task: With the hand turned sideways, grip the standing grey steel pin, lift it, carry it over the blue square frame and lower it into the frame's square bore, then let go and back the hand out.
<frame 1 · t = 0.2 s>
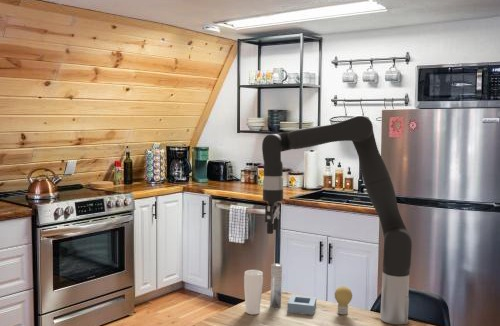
hand: (272, 231, 193), 29 cm above the table, tool pointing down, fingers open, 8 cm apart
steel pin: (275, 306, 197), on the table
drinking glass: (252, 313, 190), on the table
light bulb: (342, 314, 191), on the table
blue square frame: (301, 309, 194), on the table
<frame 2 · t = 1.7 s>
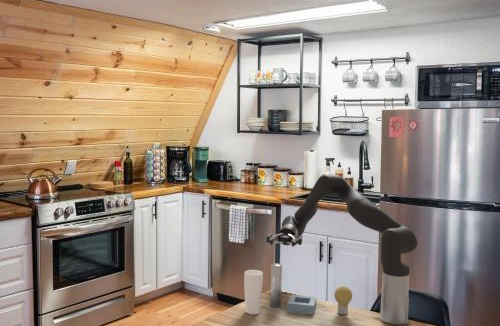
hand: (281, 243, 206), 22 cm above the table, tool horizontal, fingers open, 8 cm apart
nothing on the table moved.
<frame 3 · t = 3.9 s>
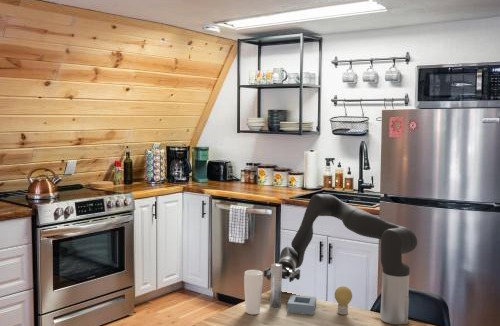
hand: (279, 278, 202), 9 cm above the table, tool horizontal, fingers open, 8 cm apart
nothing on the table moved.
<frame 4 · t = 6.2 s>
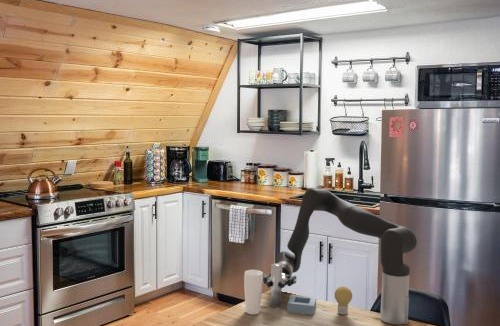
hand: (275, 285, 193), 9 cm above the table, tool horizontal, fingers closed on steel pin, 4 cm apart
steel pin: (275, 306, 197), on the table, touching gripper
everything else where it was.
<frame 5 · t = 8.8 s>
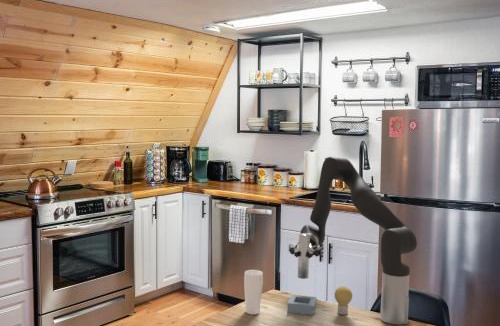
hand: (302, 255, 190), 21 cm above the table, tool horizontal, fingers closed on steel pin, 4 cm apart
steel pin: (302, 277, 194), point 12 cm above the table, touching gripper
everything else where it was.
when the fingers open (10 cm above the table, at t = 11.5 s): steel pin drops 1 cm, resting in blue square frame.
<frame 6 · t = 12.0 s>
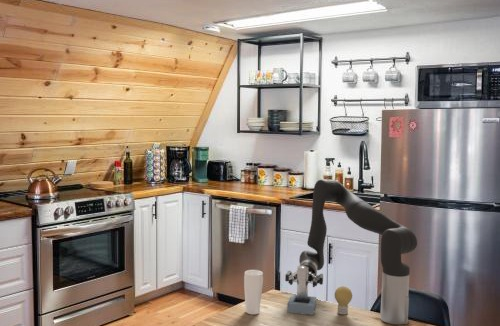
hand: (302, 283, 192), 11 cm above the table, tool horizontal, fingers open, 8 cm apart
steel pin: (301, 309, 195), resting in blue square frame
everything else where it was.
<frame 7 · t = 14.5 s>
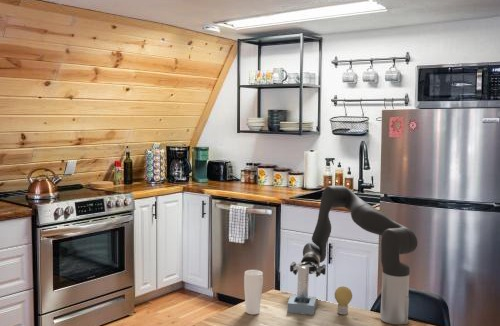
hand: (306, 273, 204), 11 cm above the table, tool horizontal, fingers open, 8 cm apart
nothing on the table moved.
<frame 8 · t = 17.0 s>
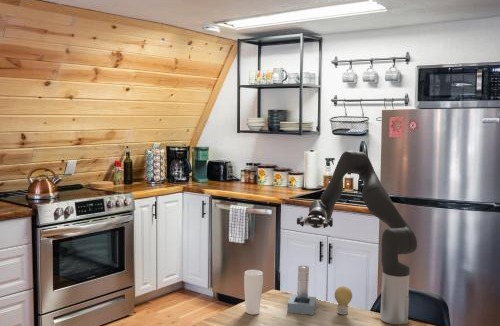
hand: (313, 224, 202), 30 cm above the table, tool horizontal, fingers open, 8 cm apart
nothing on the table moved.
at the end: steel pin 0.1 cm off-centre on the blue square frame, point 0.0 cm above the blue square frame's base; steel pin tilted 0°; the gripper is holding nothing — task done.
